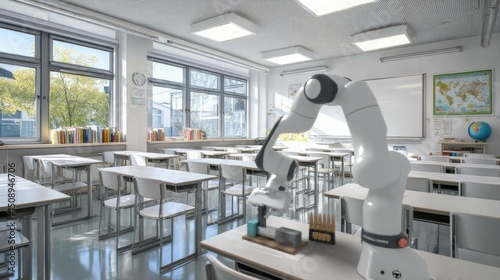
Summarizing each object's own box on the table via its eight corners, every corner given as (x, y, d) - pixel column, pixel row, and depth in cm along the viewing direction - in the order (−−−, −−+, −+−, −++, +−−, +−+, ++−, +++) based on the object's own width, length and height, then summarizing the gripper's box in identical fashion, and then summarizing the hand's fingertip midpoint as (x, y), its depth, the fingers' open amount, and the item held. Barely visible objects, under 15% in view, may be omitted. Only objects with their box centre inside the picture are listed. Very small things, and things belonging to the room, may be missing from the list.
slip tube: (283, 238, 119) (283, 208, 118) (279, 240, 116) (279, 210, 116) (256, 230, 128) (256, 202, 127) (251, 232, 125) (251, 204, 125)
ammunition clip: (335, 243, 118) (336, 214, 117) (334, 245, 116) (335, 215, 116) (309, 239, 123) (309, 210, 122) (308, 240, 121) (308, 211, 120)
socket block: (264, 232, 128) (264, 219, 127) (253, 237, 122) (253, 223, 122) (257, 230, 130) (257, 217, 130) (247, 235, 124) (247, 221, 124)
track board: (308, 244, 117) (308, 229, 116) (292, 254, 107) (292, 238, 107) (259, 230, 132) (259, 217, 132) (241, 238, 123) (241, 224, 123)
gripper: (252, 183, 135) (238, 208, 128) (290, 189, 122) (277, 217, 115) (258, 191, 139) (245, 216, 132) (296, 197, 126) (283, 226, 119)
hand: (260, 217), depth 123 cm, fingers open, 3 cm apart
